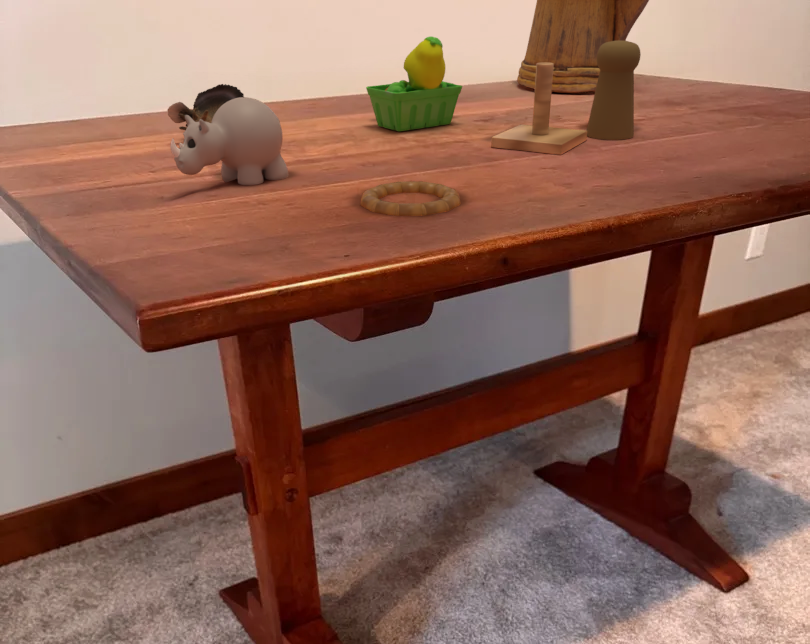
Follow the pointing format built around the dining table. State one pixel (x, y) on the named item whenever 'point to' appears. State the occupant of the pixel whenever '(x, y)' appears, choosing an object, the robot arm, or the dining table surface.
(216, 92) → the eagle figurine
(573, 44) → the tankard
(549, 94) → the post
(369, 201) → the ring
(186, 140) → the toy rhinoceros
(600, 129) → the cork
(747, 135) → the dining table surface
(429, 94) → the fruit basket
